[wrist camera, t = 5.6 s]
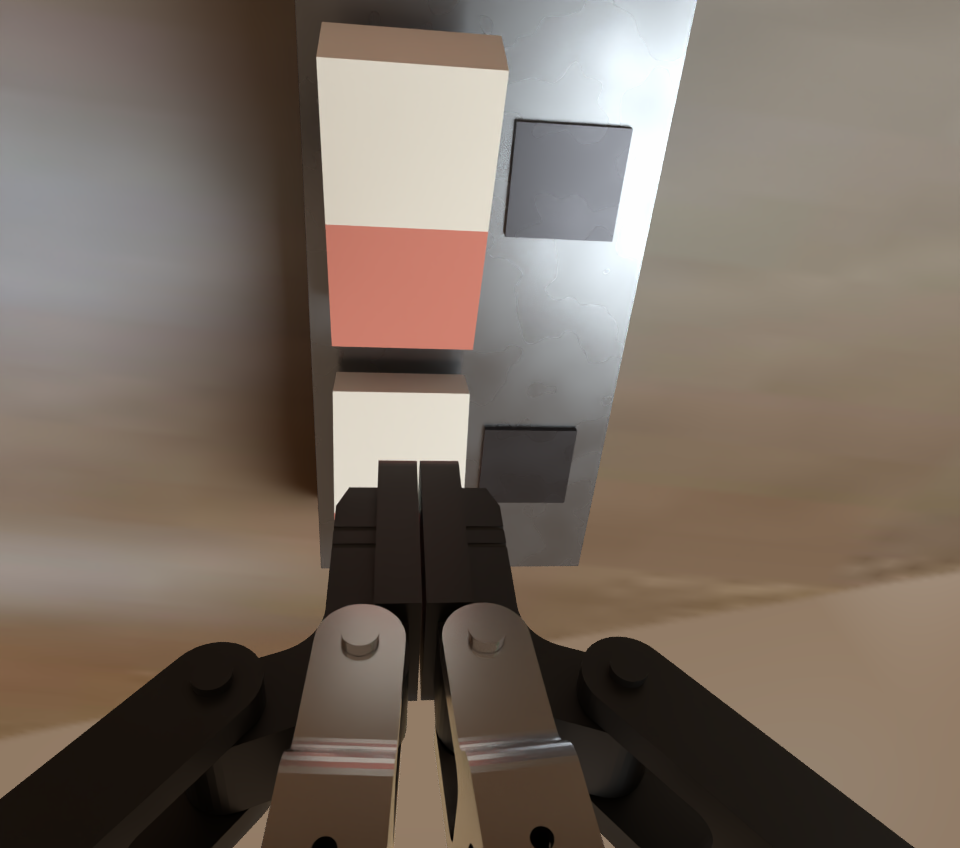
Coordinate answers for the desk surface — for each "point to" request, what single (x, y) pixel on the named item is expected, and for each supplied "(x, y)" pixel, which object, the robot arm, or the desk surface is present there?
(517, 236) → the power strip
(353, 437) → the rocker
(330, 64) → the block
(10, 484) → the desk surface
